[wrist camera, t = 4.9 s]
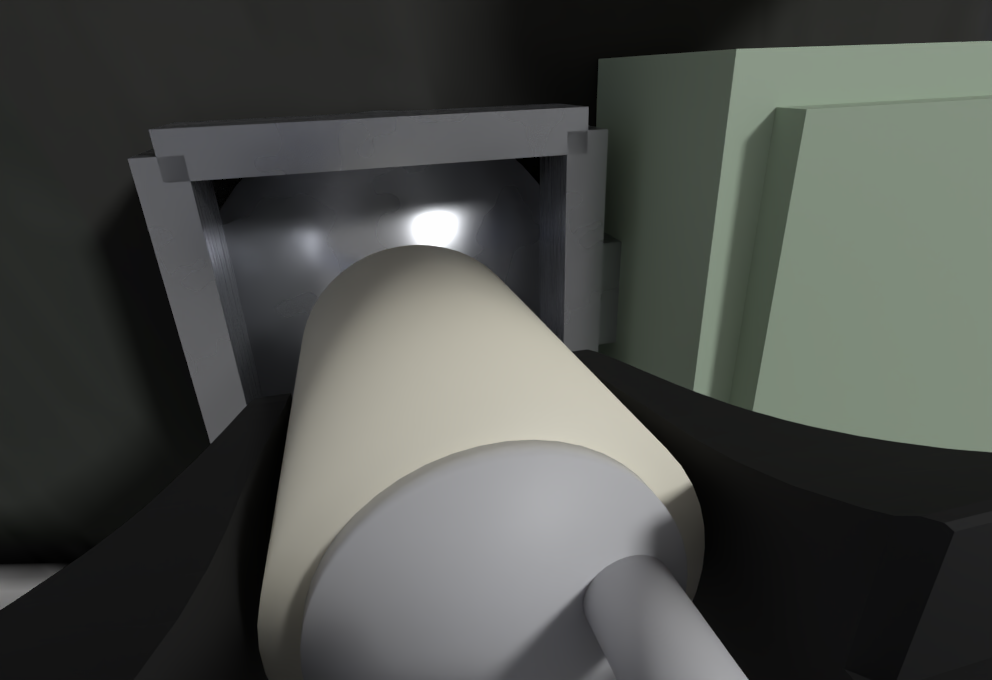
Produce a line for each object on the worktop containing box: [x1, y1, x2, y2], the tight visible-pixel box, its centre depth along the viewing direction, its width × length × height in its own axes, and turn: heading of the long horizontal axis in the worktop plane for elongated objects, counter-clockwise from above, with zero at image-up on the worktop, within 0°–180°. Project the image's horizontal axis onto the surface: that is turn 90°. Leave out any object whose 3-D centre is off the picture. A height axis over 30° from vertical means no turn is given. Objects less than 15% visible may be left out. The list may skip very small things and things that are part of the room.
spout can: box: [257, 245, 748, 680], centre depth 8 cm, size 5×5×9 cm
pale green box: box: [596, 41, 992, 452], centre depth 16 cm, size 10×13×7 cm
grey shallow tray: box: [128, 103, 622, 443], centre depth 16 cm, size 12×10×3 cm
